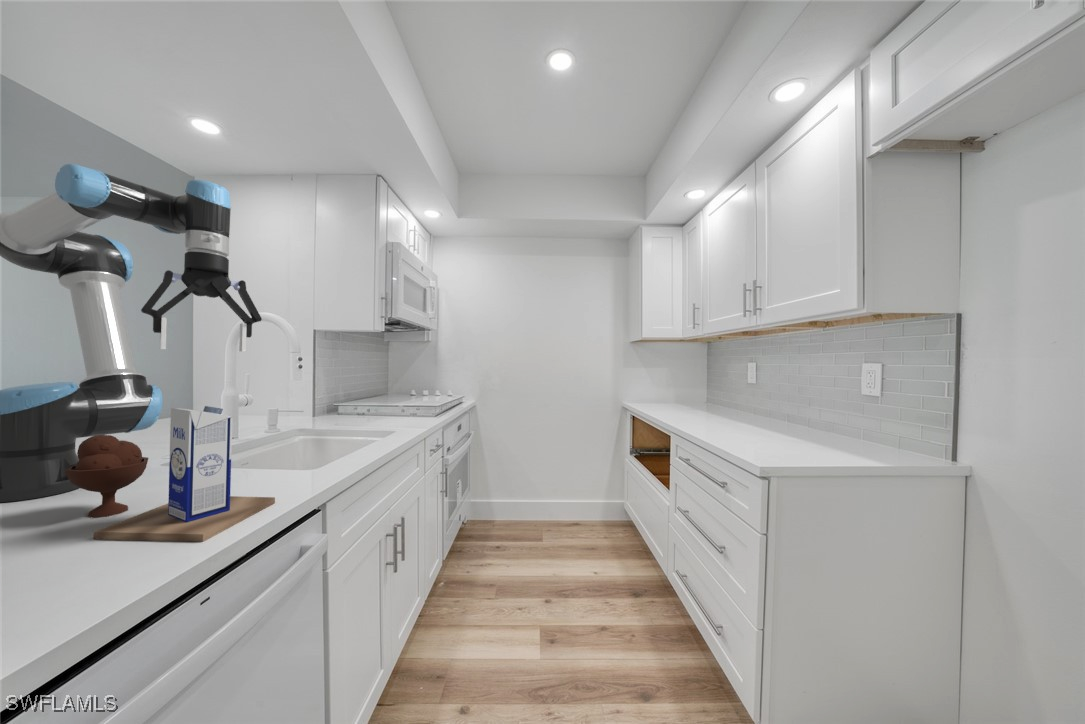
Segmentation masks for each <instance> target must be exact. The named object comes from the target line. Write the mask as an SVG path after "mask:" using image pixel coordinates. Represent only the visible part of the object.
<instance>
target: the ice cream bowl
mask: <svg viewBox="0 0 1085 724" xmlns="http://www.w3.org/2000/svg"><path fill="white" fill-rule="evenodd" d="M76 454H77V456H78V459H79V461H78V462H77V464H74V465H70V466H68V468H67V469H66V470H65V471H66V474H67V478H68V479H69V480H70V482H71V483H72V484H74V485H76V486H77V487H79V488H78V489H82V490H85V491H88V492H94V493H99V494H100V495H101V497H102V498H101V504H100V505H98V506H96V507H95V508H92V509H91V510H89V512H88V513H87V515H86V518H91V517H92V518H91V519H93V518H95V519H97V518H107V517H111V516H115V515H116V516H117V515H120V514H122V513H124V512H127V511H129V506H128V505H127V504H123V503H120V502H117V501H116V493H117V491H118V490H120V489H123V488H125V487H128V486H129V485H132V483H134V482H136V480H138V479H139V478H140V477H141V476H142V475H143V474H144V473H145V470H146V468H147V466H148V462H149V457H146V456H145V457H144V456H143V452H142V449H140V447H139V446H138V445H137V444H135V443H134V442H132V441H128V440H121V439H118V438H117V437H116V436H113V435H112V434H106V435H96V436H89V437H87V438H86V439H85V440H83V441H81V443H80V444H79V445H78V449H77V451H76Z"/></svg>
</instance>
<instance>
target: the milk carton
mask: <svg viewBox="0 0 1085 724" xmlns="http://www.w3.org/2000/svg"><path fill="white" fill-rule="evenodd" d="M223 410H224V409H223V408H219V407H214V406H208V405H205V406H204V408H203V411H202V410H195V409H189V408H177V407H176V408H175V407H170V423H169V428H170V429H169V431H170V432H169V433H170V434H169V435H170V436H169V467H168V469H169V471H168V473H169V474H168V475H169V476H168V503H167V504H168V515H169V516H172V517H174V518H177V519H179V520H182V521H184V522H190V521H194V520H198V519H201V518H205V517H208V516H212V515H215V514H219V513H222V512H226V511H230V496H231V481H232V476H231V475H232V445H233V444H232V442H233V441H232V440H233V415H226V414H222V413H223Z"/></svg>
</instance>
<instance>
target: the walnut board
mask: <svg viewBox="0 0 1085 724" xmlns="http://www.w3.org/2000/svg"><path fill="white" fill-rule="evenodd" d="M275 503H276V497H275V496H273V497H271V496H231V495H230V511H226V512H222V513H219V514H215V515H212V516H208V517H205V518H201V519H198V520H194V521H190V522H184V521H182V520H179V519H177V518H174V517H172V516H169V515H168V503H165V504H163V505H160V506H157V507H154V508H152V509H150V510H147V511H145V512H142V513H139V514H136V515H134V516H131V517H128V518H125V519H123V520H121V521H118V522H116V523H113V524H110V525H107V526H105V527H103V528H100V529H97V530H95V531H93V535H92V536H93V537H92V539H93V540H110V541H111V540H113V541H114V540H118V541H120V540H121V541H124V540H125V541H157V542H158V541H160V542H164V541H166V542H198V543H199V542H201V543H202V542H205V541H207V540H208V539H211V538H212V537H214V536H216V535H218V534H220V533H222V532H224V531H225V530H228V529H229V528H231V527H233V526H235V525H237V524H239V523H240V522H242V521H245V520H246V519H248V518H250V517H252V516H253V515H255V514H258V513H260V512H261V511H263V510H265V509H267V508H268V507H270V506H273V505H274V504H275Z"/></svg>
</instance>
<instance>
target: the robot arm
mask: <svg viewBox="0 0 1085 724" xmlns="http://www.w3.org/2000/svg"><path fill="white" fill-rule="evenodd" d="M54 187H55V190H54V191H52V192H51V193H49V194H47V195H45V196H43V197H40V198H39V199H37V200H35V201H34V202H32V203H30V204H28V205H26V206H25V207H23V208H21V209H19V210H18V211H17V210H8V211H4V212H0V257H1V258H3V259H4V260H6V261H8V262H9V263H12V264H14V265H16V266H19V267H21V268H24V269H27V270H31V271H36V272H43V273H48V274H56V275H57V277H58V283H59V284H60V285H61V286H62V287H64V288H66V289H68V290H69V292H70V297H71V301H72V307H73V311H74V316H75V317H74V318H75V321H76V322H75V323H76V328H77V331H78V336H79V337H78V339H79V343H80V348H81V353H82V358H83V365H84V368H85V373H86V376H85V378H84V379H82V380H81V381H80V382H79V384H77V383H76V382H74V381H73V382H72V381H71V382H70V381H61V382H60V381H58V382H44V383H34V384H27V385H26V384H25V385H20V386H19V385H18V386H12V387H7V388H3V389H0V503H7V502H18V501H26V500H33V499H38V498H45V497H48V496H49V497H50V496H55V495H58V494H62V493H66V492H70V491H73V490H77V489H80V488H79V487H77V486H76V485H74V484H72V483H71V482H70V480H69V479H68V478H67V474H66V471H65V470H66V469H67V468H68V466H70V465H74V464H77V462H78V461H79V459H78V455H77V451H76V443H77V442H76V440H77V439H80V438H90V437H92V436H96V435H114V434H121V433H125V434H128V433H129V434H130V433H131V432H136V431H143V430H147V429H149V428H151V427H152V426H153V425H154V424H156V422H157V421H158V419H159V417H160V415H161V412H162V409H163V402H164V399H163V393H162V390H161V389H160V388H159V387H158V386H157V385H154V384H148V383H147V382H148V381H147V377H146V375H144V374H142V373H140V372H138V371H137V369H136V365H135V364H136V363H135V360H134V355H133V350H132V346H131V341H130V336H129V333H128V331H129V330H128V327H127V323H126V318H125V313H124V308H123V303H122V299H121V295H120V294H121V293H120V289H121V288H123V287H124V286H126V283H127V282H128V281H129V280H130V279H131V278H132V276H133V272H134V270H133V268H134V261H133V257H132V255H131V252H130V250H129V249H128V248H127V247H126V246H125V244H123V243H122V242H120V241H118V240H117V239H113V238H109V237H106V236H104V235H100V234H91V233H86V232H83V231H82V230H85V229H86V228H88V227H90V226H94V225H95V224H96V223H99V222H101V221H103V220H106V219H108V218H111V217H112V216H115V217H116V216H117V217H120V218H123V219H128V220H131V221H136V222H140V223H143V224H147V225H151V226H152V227H154V228H155V229H157V230H158V231H160V232H162V233H166V234H173V235H174V234H176V235H181V234H184V249H185V250H186V252H185V253H184V261H183V262H184V266H183V267H184V270H183V272H182V274H181V273H179V272H178V273H176V272H173V271H171V270H168V269H167V270H166V271H165V272H164V273H163V276H162V277H163V279H162V282H161V283H160V285H159V286H158V287H157V289H156V290H155V291H154V292H153V293H152V295H151V296H150V298H149V299H148V300H147V301H146V303H144V305H143V306H142V308H141V309H140V311H141V313H142V314H146V315H149V316H150V317H152V331H153V333H155V334H156V333H157V334H158V333H159V334H160V335H159V349H160V350H167V326H168V325H167V324H168V323H167V321H168V320H167V317H163V315H165V314H166V313H167V312H168V311H171V309H172V308H173V307H175V306H176V305H178V304H179V303H180V302H181V301H183V300H184V299H185V298H186V297H188V296H190V295H191V294H193V295H194V296H197V297H207V298H219V299H221V300H222V301H223V302H224V303H225V304H226V305H227V306H228V307H229V308H230V309H231V310H232V311H233V313H235V315H236V316H238V318H239V319H240V320H241V321H242V322H243V323H240V324H239V347H238V348H239V349H238V350H239V352H243V353H244V352H247V338H252V334H253V332H252V331H253V324H254V323H259V322H261V321H262V316H261V314H260V313H259V310H258V308H257V307H256V306H255V303H254V301H253V300H252V298H251V296H250V294H249V292H248V291H247V284H246V281H245V280H242V279H241V280H230V277H229V273H230V272H229V271H230V270H229V267H230V266H229V265H230V264H229V263H230V261H229V258H227V257H229V255H230V232H231V231H230V228H231V210H232V206H231V195H230V192H229V190H228V189H226V188H225V187H224V186H222V185H219V184H218V183H214V182H211V181H207V180H203V179H192V180H191V179H190V180H188V181H187V183H186V188H185V190H184V192H185V194H184V195H180V196H175V195H171V194H169V193H165V192H162V191H160V190H157V189H153V188H150V187H147V186H145V185H141V184H138V183H135V182H132V181H129V180H126V179H123V178H120V177H117V176H114V175H111V174H108V173H106V172H105V173H104V172H102V171H101V170H98V169H95V168H92V167H91V168H90V167H86V166H82V165H80V164H75V163H65V164H63V165H62V166H61V167H59V170H58V172H57V173H56V175H55V180H54ZM178 280H180V281H181V282H182V283H183V284H184V285H185V286H186V288H185V289H183V290H182V291H181V292H179V293H178V294H177V295H175V296H174V297H172V298H171V299H170V300H169V301H167V302H166V303H164V304H163V305H162V306H161V307H160V308H158V309H157V310H156V309H153V308H154V306H155V305H156V303H158V301H159V300H160V298H161V297H162V296H163V295H164V293H165V292H166V290H167V289H168V288H169V287H170V286H171V284H172V283H176V282H177V281H178ZM230 287H233V289H234V291H237V293H238V295H239V296H240V298H241V301H242V302H243V304H244V306H245V307H246V309H247V311H248V313H249V314H250V315H249V314H247V312H245V310H244V309H243V308H242V307H241V306H240V305H239V304H238V302H236V300H234V298H233V297H232V295H230V294H229V292H228V291H227V290H228V289H229V288H230ZM250 316H251V317H250ZM78 385H79V386H78Z"/></svg>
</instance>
